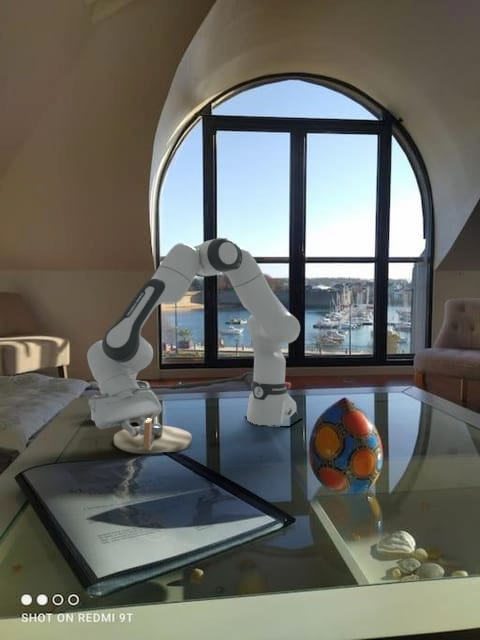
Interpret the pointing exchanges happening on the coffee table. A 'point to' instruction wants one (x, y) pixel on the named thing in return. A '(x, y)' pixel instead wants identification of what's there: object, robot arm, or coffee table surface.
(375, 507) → the coffee table surface
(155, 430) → the grey pivot bar
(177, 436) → the stand
